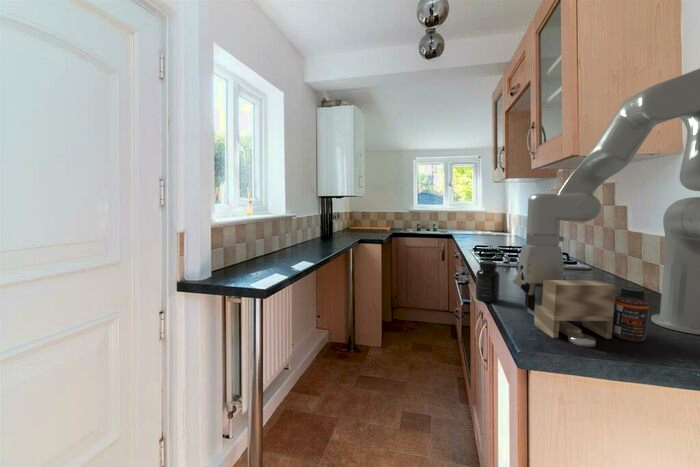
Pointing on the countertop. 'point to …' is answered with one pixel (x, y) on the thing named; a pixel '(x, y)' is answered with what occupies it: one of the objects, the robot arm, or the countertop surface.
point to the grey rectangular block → (563, 325)
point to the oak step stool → (576, 306)
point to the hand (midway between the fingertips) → (538, 307)
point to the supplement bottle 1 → (487, 282)
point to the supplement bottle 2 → (630, 315)
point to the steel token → (582, 339)
